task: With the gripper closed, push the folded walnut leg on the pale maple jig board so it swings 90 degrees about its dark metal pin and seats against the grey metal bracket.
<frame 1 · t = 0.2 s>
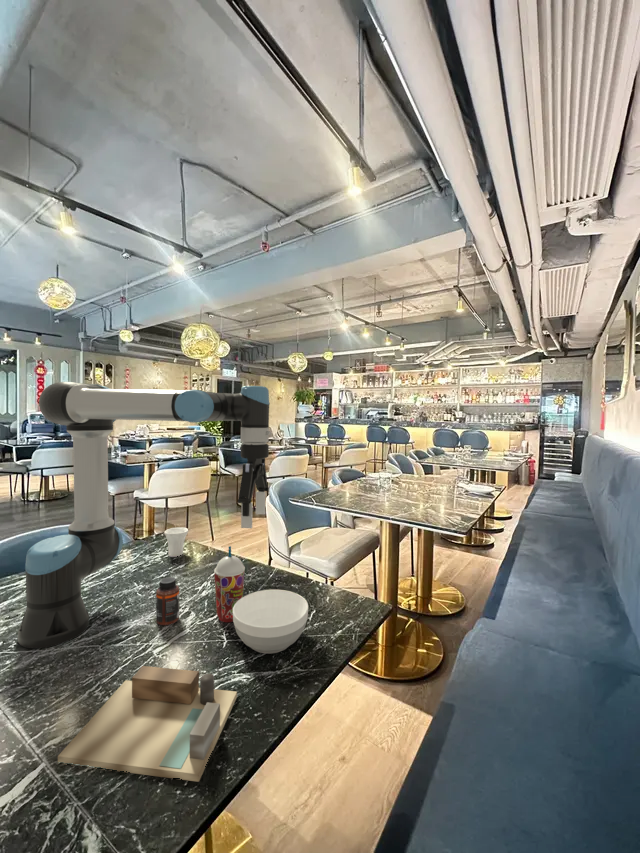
hand: (254, 520, 106), 28 cm above the table, fingers open, 13 cm apart
jig board: (156, 726, 71), on the table
smoothie: (229, 618, 108), on the table
supplement bottle: (167, 621, 106), on the table
cup: (176, 555, 154), on the table
bowl: (270, 641, 98), on the table
leg: (165, 684, 77), point 3 cm above the table, hinge at 90.0°
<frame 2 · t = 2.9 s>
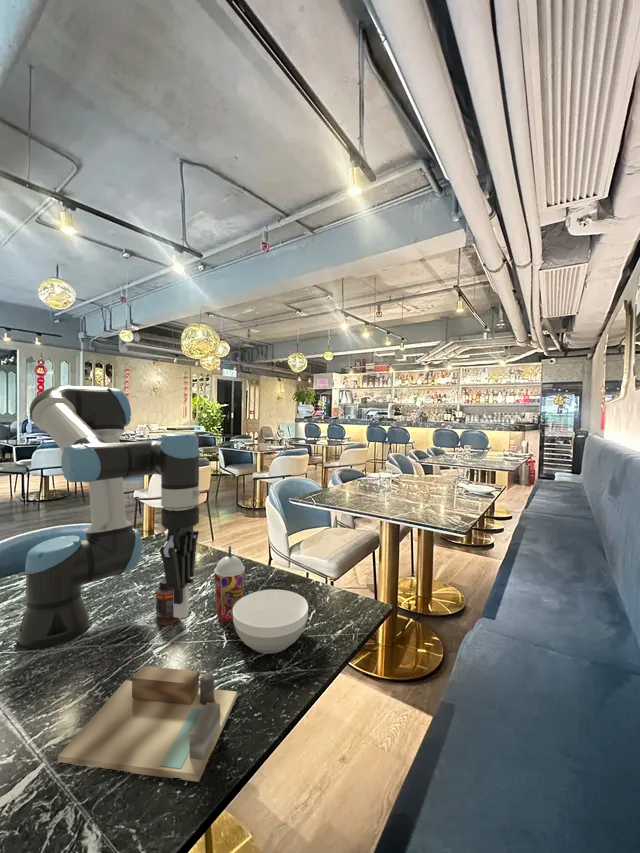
hand: (181, 615, 83), 14 cm above the table, fingers closed
nothing on the table moved.
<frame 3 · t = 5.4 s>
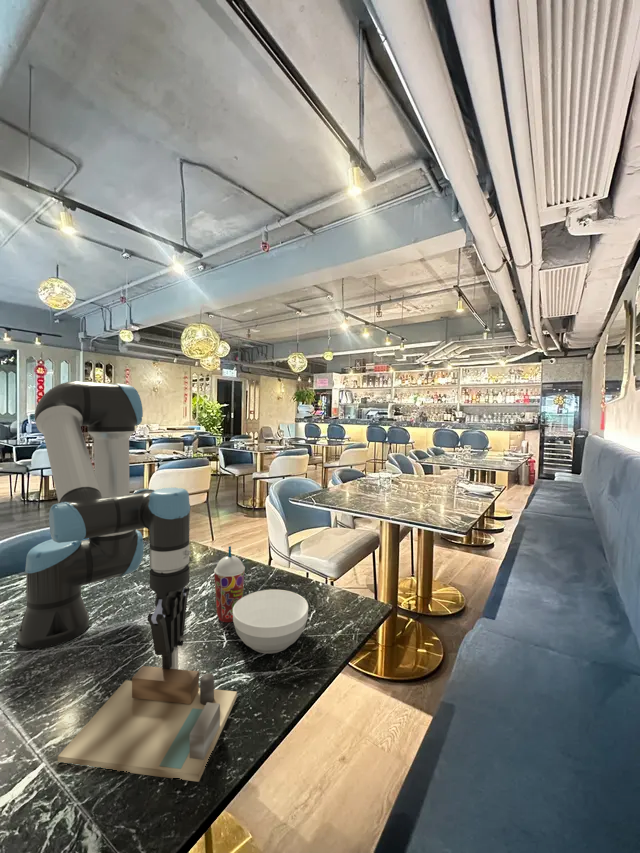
hand: (170, 679, 79), 3 cm above the table, fingers closed
leg: (165, 684, 77), point 3 cm above the table, hinge at 90.0°, touching gripper
everything else where it was.
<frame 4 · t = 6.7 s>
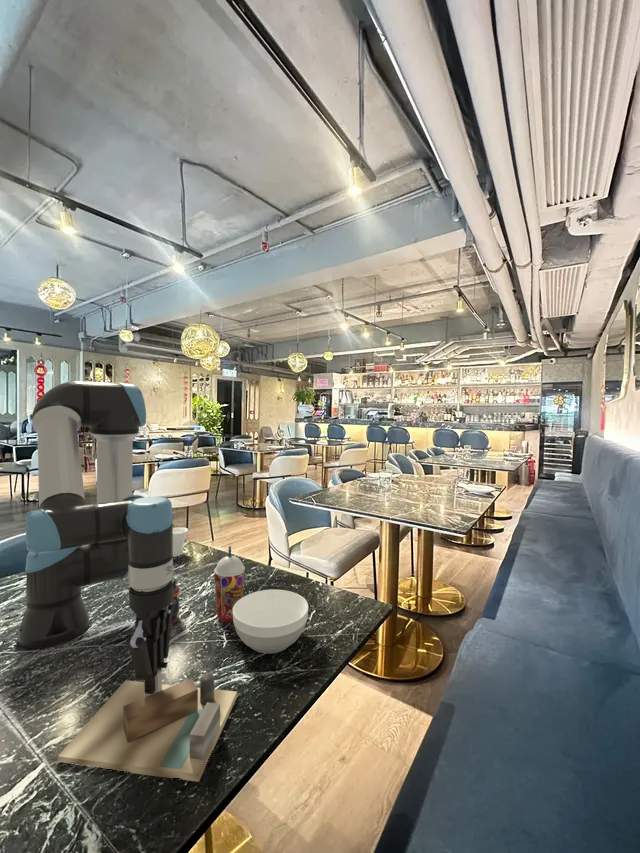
hand: (153, 704, 73), 2 cm above the table, fingers closed
leg: (161, 708, 71), point 4 cm above the table, hinge at 46.1°, touching gripper
everything else where it was.
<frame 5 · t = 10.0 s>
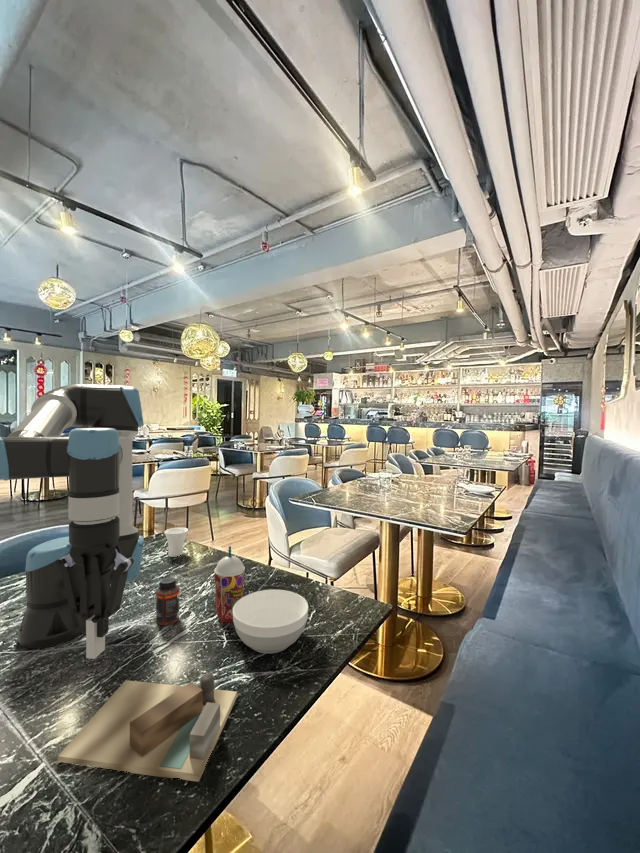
hand: (95, 653, 67), 15 cm above the table, fingers closed
leg: (168, 716, 69), point 3 cm above the table, hinge at 28.4°
everything else where it was.
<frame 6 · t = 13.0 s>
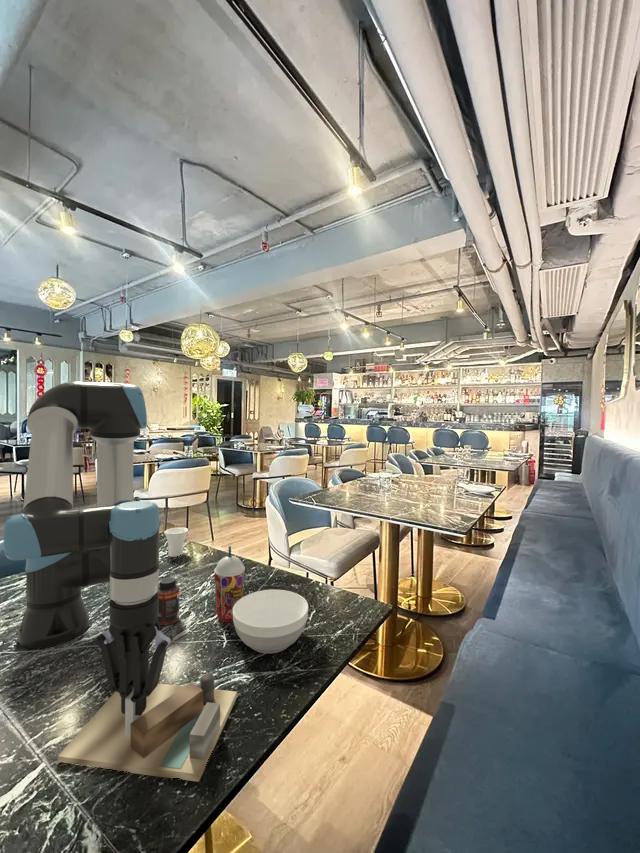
hand: (133, 730, 66), 3 cm above the table, fingers closed
leg: (168, 716, 69), point 3 cm above the table, hinge at 27.1°, touching gripper
everything else where it was.
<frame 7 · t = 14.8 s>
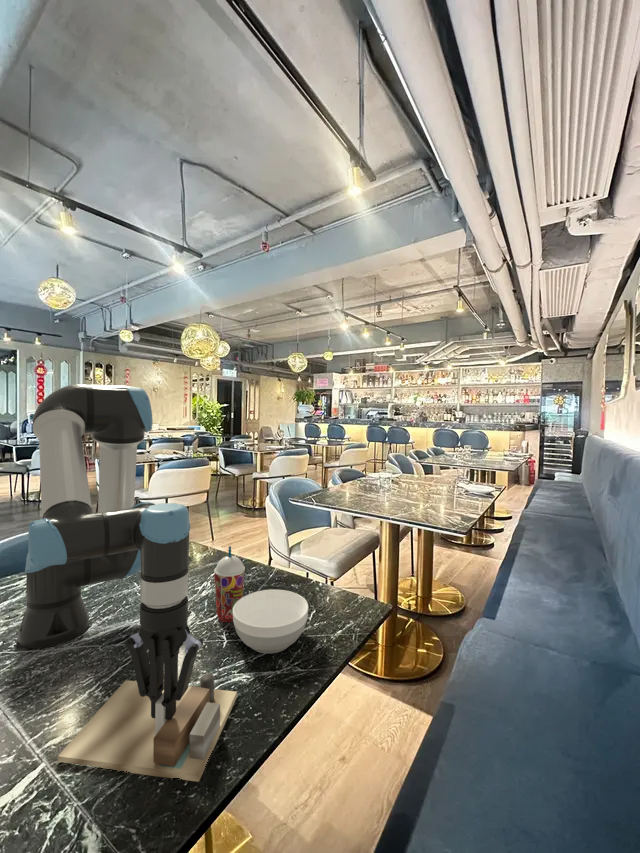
hand: (163, 735, 66), 3 cm above the table, fingers closed
leg: (183, 722, 67), point 4 cm above the table, hinge at 4.3°, touching gripper
everything else where it was.
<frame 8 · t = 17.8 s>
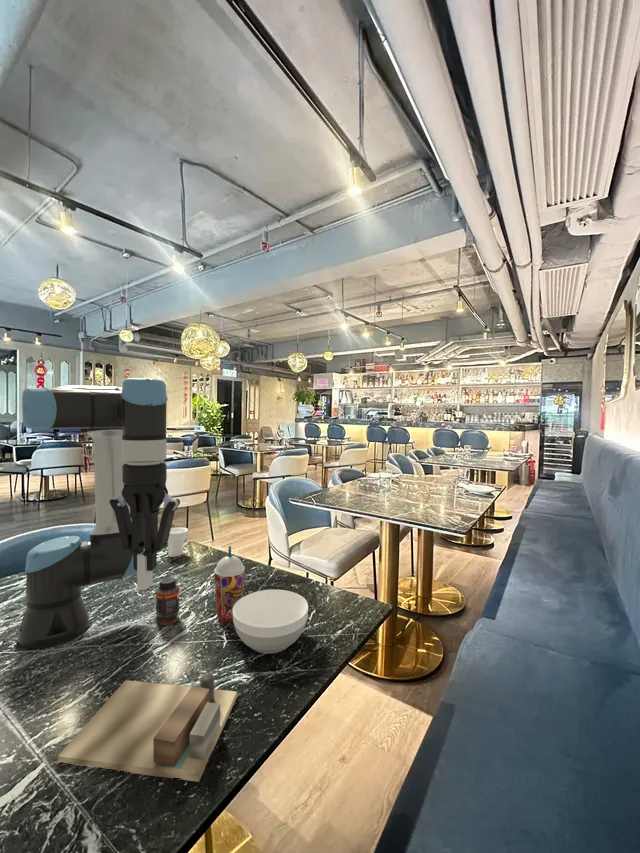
hand: (145, 586, 73), 24 cm above the table, fingers closed
leg: (183, 722, 67), point 4 cm above the table, hinge at 4.3°
everything else where it was.
at the end: leg at +4° (first picture: +90°) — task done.
